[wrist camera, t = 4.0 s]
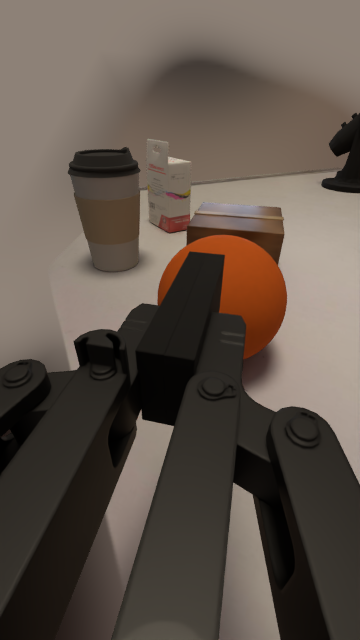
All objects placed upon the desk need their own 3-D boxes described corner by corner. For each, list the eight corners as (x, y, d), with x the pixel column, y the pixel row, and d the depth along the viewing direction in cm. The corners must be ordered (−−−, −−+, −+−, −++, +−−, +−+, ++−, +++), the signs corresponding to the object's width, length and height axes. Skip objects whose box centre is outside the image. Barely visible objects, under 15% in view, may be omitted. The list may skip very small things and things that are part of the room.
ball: (138, 368, 27) (127, 252, 21) (185, 307, 35) (187, 211, 29) (260, 408, 24) (292, 284, 17) (280, 330, 32) (307, 227, 25)
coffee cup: (91, 279, 41) (68, 154, 32) (81, 255, 47) (59, 146, 39) (154, 268, 44) (148, 151, 35) (136, 246, 50) (127, 143, 42)
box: (184, 285, 40) (186, 224, 35) (199, 253, 48) (202, 201, 44) (272, 296, 37) (285, 232, 33) (271, 260, 46) (281, 206, 42)
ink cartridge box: (191, 229, 58) (193, 141, 49) (169, 233, 56) (167, 142, 47) (169, 217, 64) (168, 137, 55) (148, 221, 62) (143, 138, 53)
